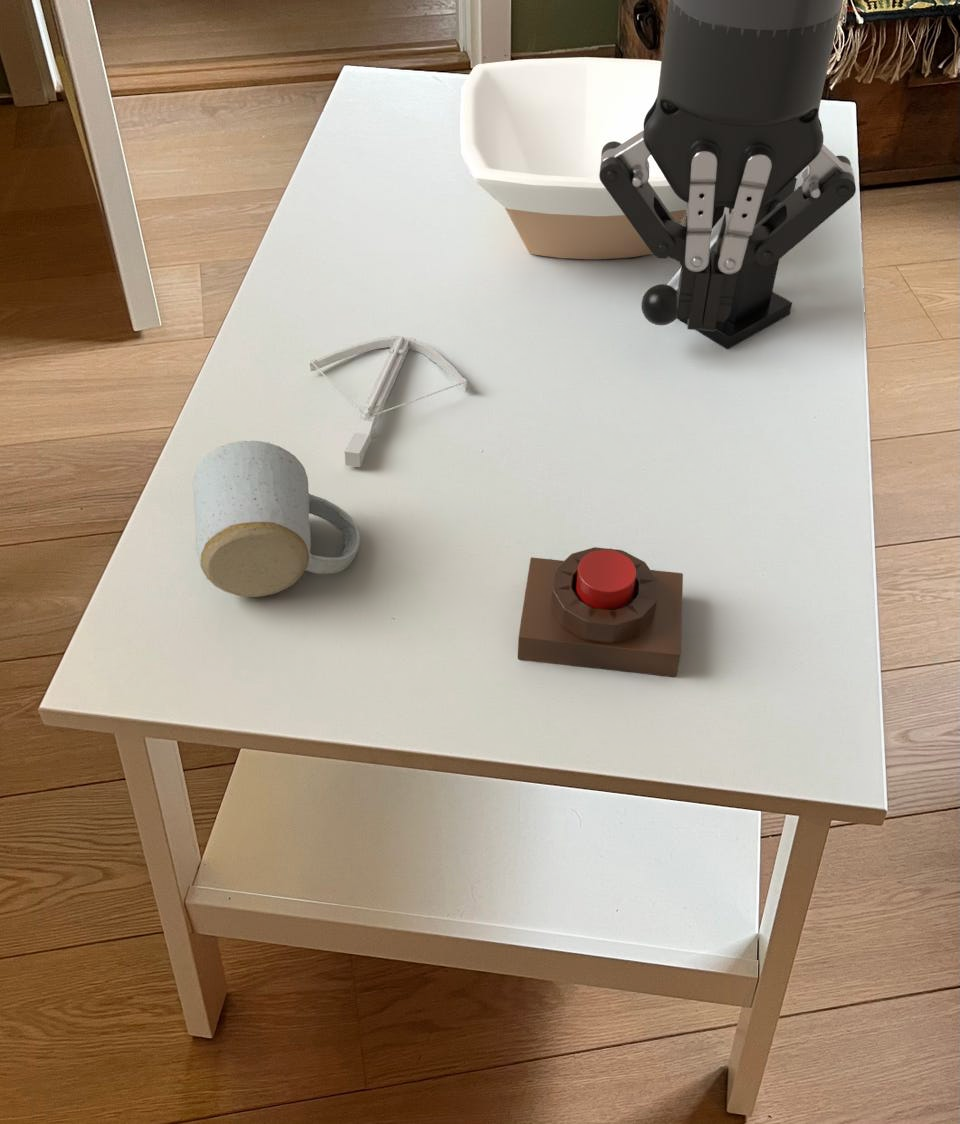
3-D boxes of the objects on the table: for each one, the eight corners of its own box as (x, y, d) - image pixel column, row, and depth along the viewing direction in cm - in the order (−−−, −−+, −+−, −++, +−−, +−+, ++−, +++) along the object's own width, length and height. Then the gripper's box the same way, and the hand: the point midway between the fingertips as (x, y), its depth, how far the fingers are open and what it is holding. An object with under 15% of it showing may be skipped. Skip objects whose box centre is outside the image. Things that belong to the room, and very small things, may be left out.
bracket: (727, 349, 98) (754, 209, 89) (666, 312, 102) (686, 173, 92) (790, 314, 102) (822, 175, 92) (728, 279, 105) (753, 143, 96)
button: (634, 571, 75) (637, 552, 74) (632, 613, 73) (635, 594, 72) (578, 565, 76) (580, 546, 74) (573, 607, 73) (575, 588, 72)
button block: (678, 595, 79) (686, 553, 76) (676, 677, 74) (684, 635, 71) (529, 579, 80) (531, 537, 77) (517, 659, 75) (519, 617, 72)
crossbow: (331, 343, 99) (329, 322, 98) (478, 362, 98) (479, 340, 96) (270, 456, 88) (267, 434, 86) (436, 479, 86) (436, 457, 85)
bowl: (460, 296, 103) (459, 184, 95) (461, 160, 120) (460, 55, 112) (732, 297, 103) (753, 185, 96) (694, 160, 120) (709, 56, 113)
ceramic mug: (206, 612, 77) (188, 528, 72) (201, 526, 83) (185, 442, 77) (367, 592, 79) (362, 508, 73) (353, 509, 84) (347, 425, 79)
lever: (669, 339, 95) (657, 320, 92) (640, 321, 96) (628, 302, 94) (781, 201, 94) (772, 177, 91) (750, 185, 96) (741, 162, 93)
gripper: (601, 14, 50) (575, 353, 62) (921, 31, 49) (830, 372, 61) (608, -48, 55) (583, 276, 68) (898, -34, 54) (818, 293, 66)
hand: (701, 321), depth 64 cm, fingers closed
